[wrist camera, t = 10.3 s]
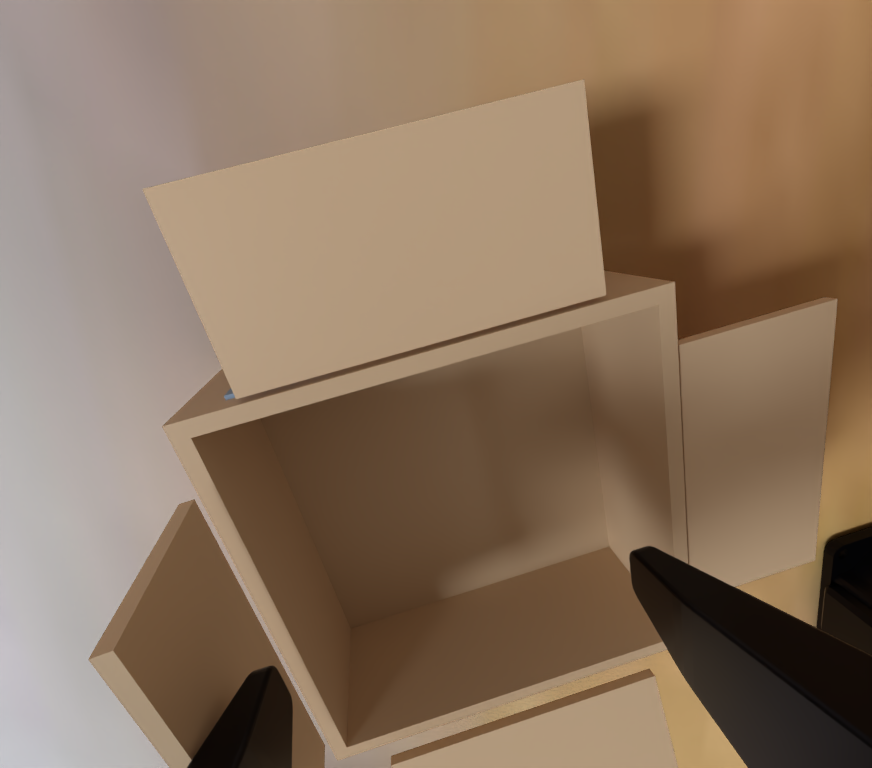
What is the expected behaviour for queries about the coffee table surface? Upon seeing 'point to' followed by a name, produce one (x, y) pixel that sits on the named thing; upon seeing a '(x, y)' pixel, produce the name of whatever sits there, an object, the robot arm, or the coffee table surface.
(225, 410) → the carton
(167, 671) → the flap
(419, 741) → the coffee table surface
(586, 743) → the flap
